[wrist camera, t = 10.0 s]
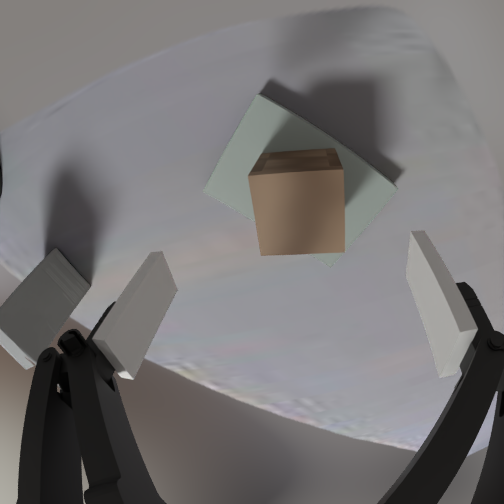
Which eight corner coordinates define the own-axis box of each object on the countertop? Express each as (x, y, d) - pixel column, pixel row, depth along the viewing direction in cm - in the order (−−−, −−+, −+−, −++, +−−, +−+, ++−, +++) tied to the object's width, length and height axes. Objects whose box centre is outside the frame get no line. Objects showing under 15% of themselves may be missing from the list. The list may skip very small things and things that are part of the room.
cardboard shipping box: (270, 218, 26) (261, 255, 22) (261, 153, 23) (247, 176, 18) (338, 215, 25) (344, 252, 20) (335, 148, 22) (343, 169, 17)
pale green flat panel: (207, 185, 27) (186, 210, 23) (259, 93, 22) (247, 96, 17) (330, 258, 29) (332, 294, 25) (393, 183, 24) (412, 208, 19)
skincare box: (44, 262, 39) (-18, 328, 25) (59, 243, 36) (-13, 316, 22) (77, 300, 42) (24, 372, 29) (96, 287, 39) (35, 368, 26)
